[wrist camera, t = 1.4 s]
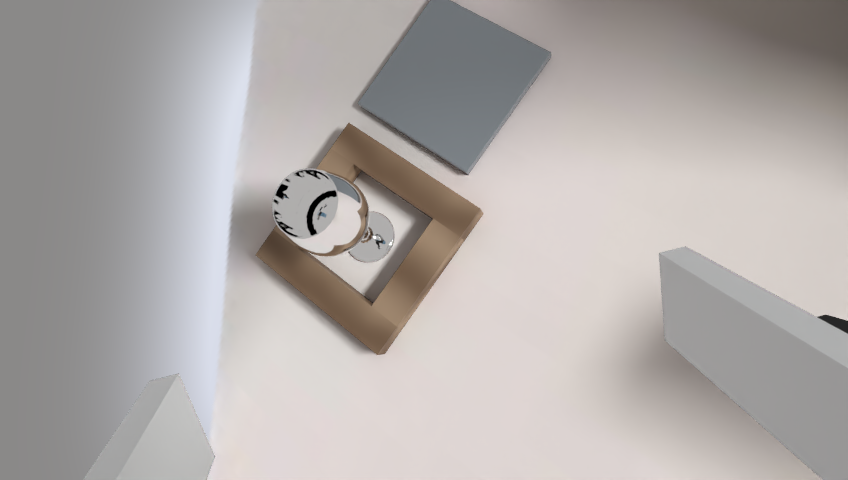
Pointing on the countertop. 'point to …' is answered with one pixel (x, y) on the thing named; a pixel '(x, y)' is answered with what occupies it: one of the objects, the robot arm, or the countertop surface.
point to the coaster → (454, 82)
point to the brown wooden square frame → (418, 268)
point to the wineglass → (330, 216)
